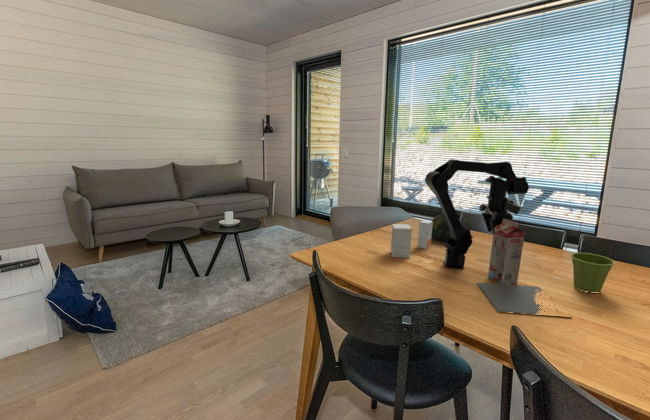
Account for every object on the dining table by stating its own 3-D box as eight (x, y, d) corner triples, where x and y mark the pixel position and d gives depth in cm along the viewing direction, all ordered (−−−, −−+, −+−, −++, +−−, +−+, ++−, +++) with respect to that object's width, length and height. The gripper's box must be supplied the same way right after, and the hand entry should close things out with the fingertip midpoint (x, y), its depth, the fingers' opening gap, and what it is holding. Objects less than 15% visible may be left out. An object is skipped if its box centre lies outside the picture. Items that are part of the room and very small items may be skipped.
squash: (420, 224, 178) (435, 206, 166) (445, 223, 182) (461, 206, 171) (430, 248, 170) (446, 231, 158) (455, 247, 174) (473, 230, 163)
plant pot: (566, 279, 125) (572, 250, 123) (608, 289, 118) (615, 257, 116) (563, 290, 116) (569, 258, 114) (608, 301, 109) (615, 267, 107)
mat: (497, 312, 100) (497, 310, 100) (476, 283, 120) (476, 282, 120) (571, 318, 98) (571, 316, 98) (538, 288, 118) (538, 286, 118)
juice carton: (501, 285, 119) (510, 223, 114) (487, 277, 125) (495, 218, 121) (517, 283, 121) (526, 222, 116) (502, 276, 127) (511, 217, 122)
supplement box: (407, 252, 151) (409, 224, 148) (409, 258, 143) (412, 228, 141) (390, 251, 151) (392, 223, 149) (391, 257, 144) (393, 228, 141)
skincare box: (425, 249, 155) (428, 223, 152) (416, 247, 158) (419, 222, 155) (430, 246, 160) (433, 221, 157) (422, 244, 162) (424, 219, 160)
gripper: (531, 199, 122) (524, 242, 125) (509, 191, 140) (504, 228, 143) (497, 198, 123) (492, 240, 126) (481, 190, 141) (476, 227, 144)
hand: (492, 233), depth 135 cm, fingers open, 6 cm apart
